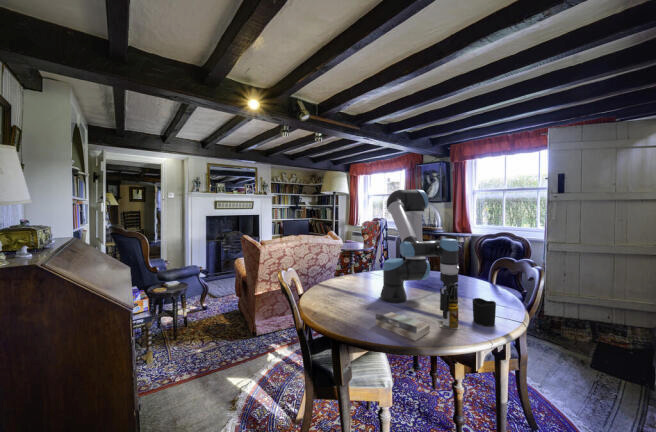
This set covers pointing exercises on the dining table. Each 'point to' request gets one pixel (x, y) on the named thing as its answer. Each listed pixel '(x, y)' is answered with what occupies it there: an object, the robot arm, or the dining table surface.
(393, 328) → the cream flat block
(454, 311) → the condiment
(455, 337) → the dining table surface
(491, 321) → the pen holder
